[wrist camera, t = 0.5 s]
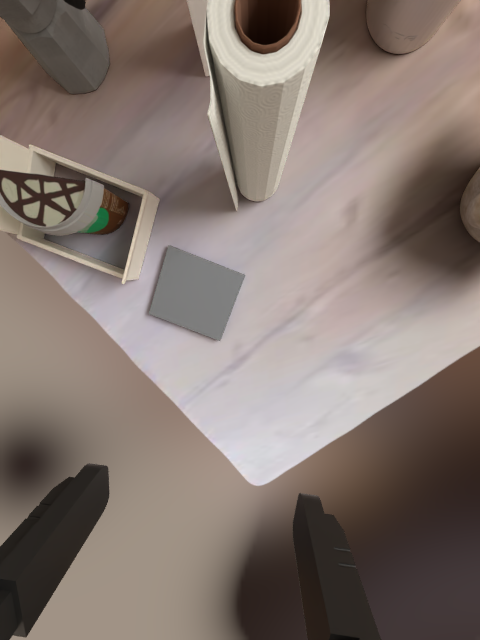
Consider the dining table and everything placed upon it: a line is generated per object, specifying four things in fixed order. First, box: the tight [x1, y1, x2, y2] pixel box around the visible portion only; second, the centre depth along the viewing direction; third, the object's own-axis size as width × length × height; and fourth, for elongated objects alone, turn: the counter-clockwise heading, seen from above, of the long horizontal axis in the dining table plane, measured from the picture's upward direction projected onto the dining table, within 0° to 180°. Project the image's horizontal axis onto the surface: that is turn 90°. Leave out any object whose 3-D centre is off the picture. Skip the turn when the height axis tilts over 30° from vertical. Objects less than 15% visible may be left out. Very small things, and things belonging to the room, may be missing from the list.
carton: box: [0, 135, 160, 284], centre depth 30 cm, size 12×20×8 cm, turn 69°
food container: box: [0, 170, 129, 236], centre depth 29 cm, size 12×6×10 cm, turn 82°
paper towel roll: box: [203, 0, 330, 211], centre depth 21 cm, size 7×6×21 cm
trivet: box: [149, 245, 245, 341], centre depth 35 cm, size 11×12×1 cm
